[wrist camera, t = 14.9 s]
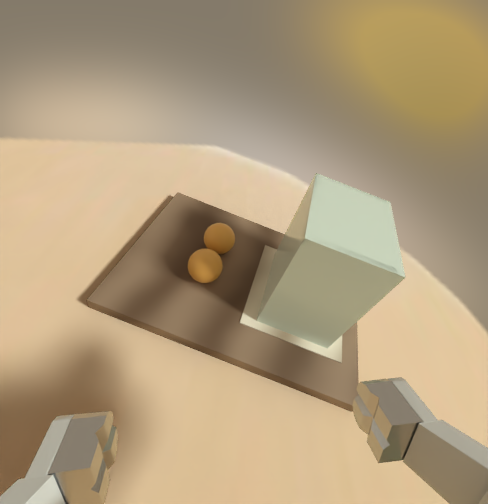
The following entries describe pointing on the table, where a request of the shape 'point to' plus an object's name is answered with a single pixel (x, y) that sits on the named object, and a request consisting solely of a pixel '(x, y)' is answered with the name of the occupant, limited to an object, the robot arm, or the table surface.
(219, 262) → the amber marble
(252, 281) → the walnut board
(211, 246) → the amber marble
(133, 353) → the table surface
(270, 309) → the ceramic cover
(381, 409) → the robot arm
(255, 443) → the table surface
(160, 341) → the table surface
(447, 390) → the table surface
